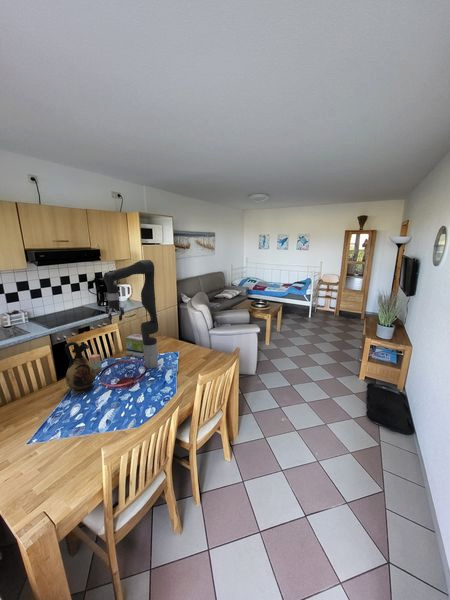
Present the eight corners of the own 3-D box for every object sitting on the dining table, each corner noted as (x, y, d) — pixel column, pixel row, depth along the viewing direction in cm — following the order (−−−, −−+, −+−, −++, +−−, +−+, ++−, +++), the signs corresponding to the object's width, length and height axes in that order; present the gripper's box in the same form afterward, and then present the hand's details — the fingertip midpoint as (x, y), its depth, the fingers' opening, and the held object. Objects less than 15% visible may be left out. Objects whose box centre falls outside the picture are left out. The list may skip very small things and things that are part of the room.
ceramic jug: (98, 379, 156) (93, 335, 149) (95, 392, 142) (89, 345, 135) (67, 384, 150) (61, 339, 143) (61, 399, 136) (53, 349, 129)
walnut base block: (101, 373, 164) (101, 367, 163) (92, 375, 161) (92, 370, 160) (99, 369, 168) (99, 364, 167) (91, 372, 165) (90, 367, 164)
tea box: (126, 355, 191) (124, 337, 188) (134, 350, 200) (133, 333, 197) (142, 357, 187) (141, 339, 183) (150, 352, 196) (149, 335, 193)
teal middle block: (101, 366, 164) (100, 361, 164) (94, 369, 160) (93, 364, 159) (97, 364, 167) (96, 359, 166) (90, 367, 163) (89, 362, 162)
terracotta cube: (100, 360, 164) (99, 354, 163) (95, 363, 160) (94, 357, 159) (95, 359, 165) (94, 353, 164) (89, 362, 161) (89, 356, 160)
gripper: (125, 298, 178) (127, 319, 182) (108, 297, 182) (110, 317, 185) (118, 300, 171) (120, 322, 175) (101, 299, 175) (103, 320, 178)
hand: (115, 320), depth 180 cm, fingers open, 8 cm apart
